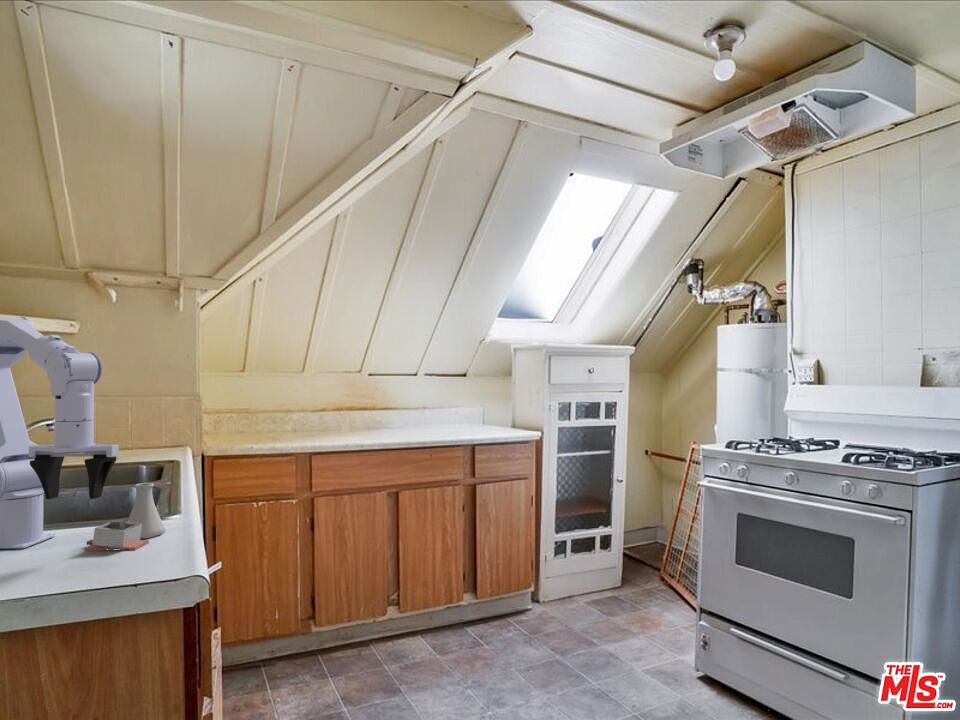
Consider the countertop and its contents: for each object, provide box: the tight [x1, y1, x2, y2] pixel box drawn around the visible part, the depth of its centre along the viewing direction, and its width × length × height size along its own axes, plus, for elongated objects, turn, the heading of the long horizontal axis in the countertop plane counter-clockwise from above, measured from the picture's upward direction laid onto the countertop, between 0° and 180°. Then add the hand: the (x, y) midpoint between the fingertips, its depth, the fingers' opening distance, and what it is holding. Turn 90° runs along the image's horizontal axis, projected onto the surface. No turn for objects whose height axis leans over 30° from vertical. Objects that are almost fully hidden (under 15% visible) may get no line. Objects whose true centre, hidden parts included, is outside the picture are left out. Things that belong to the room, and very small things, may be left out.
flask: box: [127, 482, 166, 540], centre depth 114 cm, size 7×7×10 cm
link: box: [92, 519, 142, 549], centre depth 106 cm, size 5×5×3 cm
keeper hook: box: [84, 519, 150, 551], centre depth 107 cm, size 10×4×5 cm, turn 90°
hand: (73, 497), depth 102 cm, fingers open, 7 cm apart
